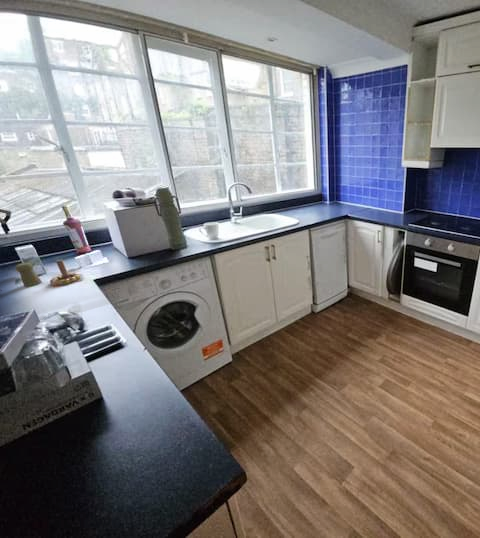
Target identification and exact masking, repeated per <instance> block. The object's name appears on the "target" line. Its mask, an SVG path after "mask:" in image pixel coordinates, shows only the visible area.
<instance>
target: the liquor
mask: <svg viewBox="0 0 480 538" xmlns="http://www.w3.org/2000/svg"><path fill="white" fill-rule="evenodd" d="M61 209H62V211H63V212H64V215H65V219H66V220H64V221H63V222H62V225H63V227H64V228H65V231H66V233H67V234H68V237H69V238H70V240H71V242H72V245H73V246H74V248H75V250H76V254H78V255H85V254H86V253H91V252H92V248H91V246H90V245H89V242H88V240H87V236H86V234H85V231H84V227H83V225H82V222H81V220H79V219H77V218H74V216H73V214H72V213H71V211H70V207H69V205H66V204H65V205H61Z"/></svg>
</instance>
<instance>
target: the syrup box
mask: <svg viewBox="0 0 480 538" xmlns="http://www.w3.org/2000/svg"><path fill="white" fill-rule="evenodd" d="M14 249H15V251H16V253H17V256H18V257H19V259H20V261H21V263H31V264H32V265H33V270H34V272H35V273H36V274H37V276H38V277H39V276H42V275H46V274H47V271H46V269H45V267H44V264H43V263H42V261H41V258H40V257H39V254H38V253H37V250H36V248H35V247H34V246H33V245H32V244H28V245H22V246H17V247H14Z"/></svg>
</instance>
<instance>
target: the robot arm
mask: <svg viewBox="0 0 480 538" xmlns="http://www.w3.org/2000/svg"><path fill="white" fill-rule="evenodd" d="M0 213H1V214H5V217H4V218H2V217H0V226H1V228H2V230H3V232H4V234H5V235H9V234H10V232H11V230H10V226H8V222H9V220H10V219H11V216H12V214H13V213H12V210H9V209H3V208H0Z"/></svg>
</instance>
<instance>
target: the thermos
mask: <svg viewBox="0 0 480 538" xmlns="http://www.w3.org/2000/svg"><path fill="white" fill-rule="evenodd" d="M155 195H156V197H155V198H154V199H153V201H152V202H153V205H154V208H155V210H156V214H157V216H158V217H160V218H161V220H162V221H163V223H164V227H165V230H166V233H167V240H168V244H169V246H170V249H171V250H172V251H173V250H175V251H177V250H183V249H185V248H187V247H188V244H187V238H186V236H185V234H184V231H183V228H182V224H181V220H180V219H181V218H180V214H182V209H181V206H180V203H179V198H178V197H177V196H176V195H173V193H172V191H171V189H170V188H168V187H158V188H157V189H155ZM174 199H175V200H174ZM175 202H176V203H175ZM157 203H158V204H159V208H158V204H157ZM176 205H177V206H176Z"/></svg>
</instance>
